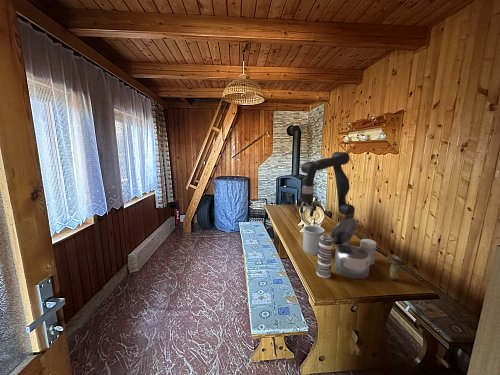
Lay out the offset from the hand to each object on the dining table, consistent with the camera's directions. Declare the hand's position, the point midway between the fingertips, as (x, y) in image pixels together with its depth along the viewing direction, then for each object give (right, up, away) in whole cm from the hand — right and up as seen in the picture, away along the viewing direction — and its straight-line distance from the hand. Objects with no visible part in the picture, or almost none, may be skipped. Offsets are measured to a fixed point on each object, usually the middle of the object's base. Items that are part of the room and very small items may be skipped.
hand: (306, 214), depth 151 cm
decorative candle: (+6, -35, -17) cm, 39 cm away
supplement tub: (+41, -32, -2) cm, 52 cm away
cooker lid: (+23, -9, -10) cm, 26 cm away
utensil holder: (+8, -29, +12) cm, 32 cm away
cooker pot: (+25, -34, -12) cm, 44 cm away
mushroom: (+45, -36, -23) cm, 62 cm away
